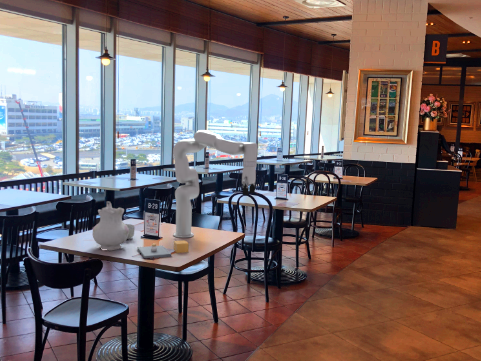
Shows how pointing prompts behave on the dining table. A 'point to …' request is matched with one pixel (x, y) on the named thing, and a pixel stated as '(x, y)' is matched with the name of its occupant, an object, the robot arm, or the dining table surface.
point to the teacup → (130, 230)
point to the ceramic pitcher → (110, 228)
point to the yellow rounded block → (181, 246)
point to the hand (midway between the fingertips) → (248, 193)
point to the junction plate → (154, 251)
